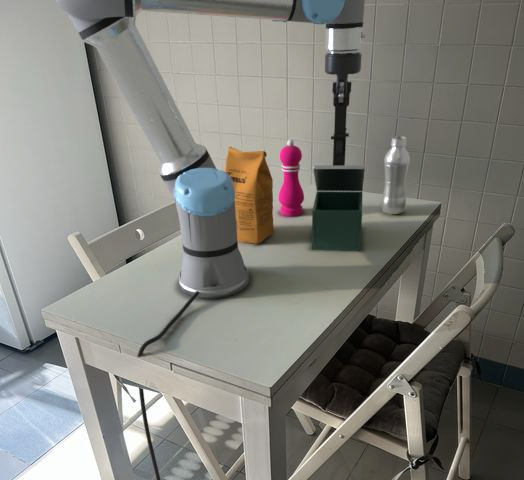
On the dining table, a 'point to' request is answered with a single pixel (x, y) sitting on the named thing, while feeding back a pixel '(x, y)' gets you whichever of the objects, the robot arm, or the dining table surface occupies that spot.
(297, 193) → the pepper mill
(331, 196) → the tin
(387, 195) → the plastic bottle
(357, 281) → the dining table surface
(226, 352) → the dining table surface
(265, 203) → the coffee package
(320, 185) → the lid
